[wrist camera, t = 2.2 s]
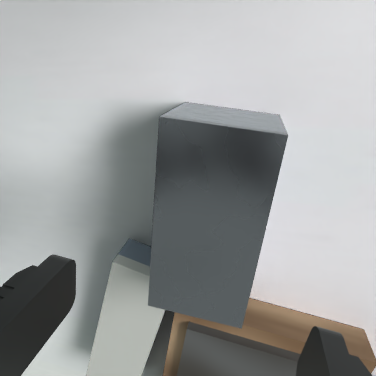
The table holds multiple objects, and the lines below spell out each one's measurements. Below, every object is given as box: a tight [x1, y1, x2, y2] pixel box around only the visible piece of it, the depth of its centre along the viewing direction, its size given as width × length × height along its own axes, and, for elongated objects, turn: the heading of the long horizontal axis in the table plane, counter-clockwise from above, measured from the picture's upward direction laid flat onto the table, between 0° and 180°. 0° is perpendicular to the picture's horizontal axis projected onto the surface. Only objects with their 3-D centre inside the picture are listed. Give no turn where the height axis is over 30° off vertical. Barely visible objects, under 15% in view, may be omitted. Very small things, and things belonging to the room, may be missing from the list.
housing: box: [148, 102, 288, 329], centre depth 16 cm, size 10×5×5 cm, turn 174°
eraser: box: [86, 239, 165, 376], centre depth 22 cm, size 12×4×3 cm, turn 163°
